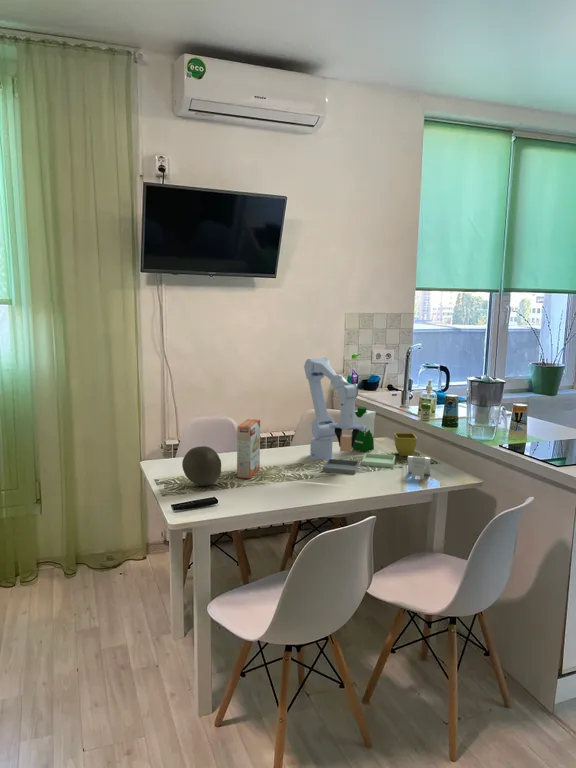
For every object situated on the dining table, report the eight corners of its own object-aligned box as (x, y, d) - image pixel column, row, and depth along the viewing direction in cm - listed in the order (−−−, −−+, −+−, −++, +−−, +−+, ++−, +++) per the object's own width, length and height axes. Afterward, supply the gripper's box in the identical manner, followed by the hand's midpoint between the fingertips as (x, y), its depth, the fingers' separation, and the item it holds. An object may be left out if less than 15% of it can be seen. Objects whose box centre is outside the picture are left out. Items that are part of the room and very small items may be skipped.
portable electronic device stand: (430, 474, 232) (431, 454, 230) (428, 480, 224) (429, 459, 223) (408, 472, 234) (409, 452, 233) (406, 478, 227) (407, 457, 226)
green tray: (361, 466, 241) (361, 461, 241) (365, 457, 254) (365, 452, 253) (393, 468, 238) (393, 463, 238) (395, 460, 251) (395, 455, 250)
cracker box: (251, 479, 224) (251, 426, 220) (236, 478, 225) (236, 426, 222) (260, 468, 237) (260, 419, 234) (246, 467, 239) (246, 418, 235)
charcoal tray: (322, 472, 232) (322, 467, 232) (328, 463, 245) (328, 458, 244) (354, 475, 229) (355, 470, 229) (359, 466, 242) (359, 461, 241)
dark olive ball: (201, 477, 226) (201, 440, 223) (229, 484, 218) (228, 446, 215) (175, 487, 214) (174, 448, 212) (203, 495, 206) (202, 454, 204)
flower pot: (416, 457, 254) (417, 438, 253) (396, 457, 254) (397, 437, 253) (412, 452, 263) (413, 433, 262) (393, 452, 263) (394, 432, 262)
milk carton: (350, 449, 267) (351, 407, 264) (361, 445, 273) (362, 404, 270) (365, 453, 261) (366, 409, 258) (377, 449, 268) (378, 407, 264)
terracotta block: (340, 451, 235) (340, 436, 234) (342, 448, 239) (342, 434, 238) (351, 452, 234) (351, 437, 233) (352, 449, 238) (353, 435, 237)
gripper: (327, 415, 232) (327, 447, 235) (363, 417, 229) (362, 450, 231) (331, 411, 239) (330, 443, 241) (366, 413, 235) (365, 446, 238)
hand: (346, 446), depth 237 cm, fingers closed on terracotta block, 4 cm apart
